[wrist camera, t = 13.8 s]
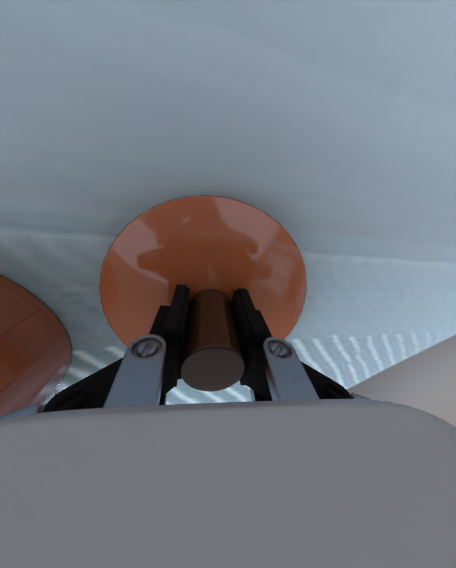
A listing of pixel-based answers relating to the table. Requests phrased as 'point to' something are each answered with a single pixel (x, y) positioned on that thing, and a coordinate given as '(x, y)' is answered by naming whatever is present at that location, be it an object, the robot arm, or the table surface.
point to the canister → (29, 349)
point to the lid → (203, 279)
